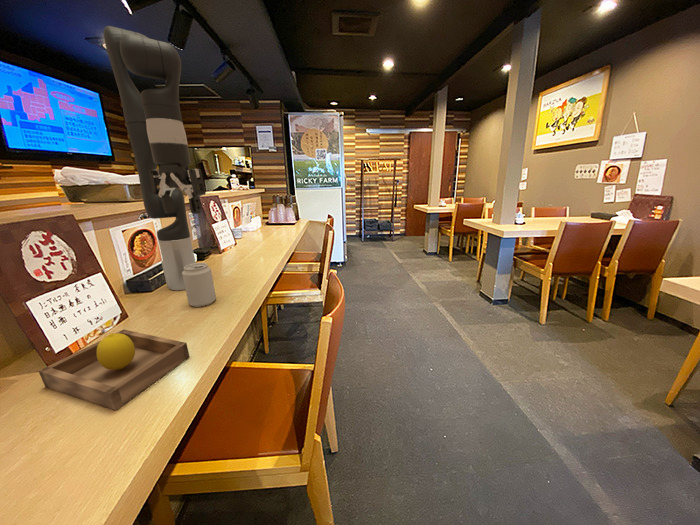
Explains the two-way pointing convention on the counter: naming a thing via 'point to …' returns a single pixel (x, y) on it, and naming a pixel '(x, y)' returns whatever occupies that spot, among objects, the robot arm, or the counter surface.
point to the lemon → (115, 351)
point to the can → (199, 284)
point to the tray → (115, 371)
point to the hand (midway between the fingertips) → (182, 212)
